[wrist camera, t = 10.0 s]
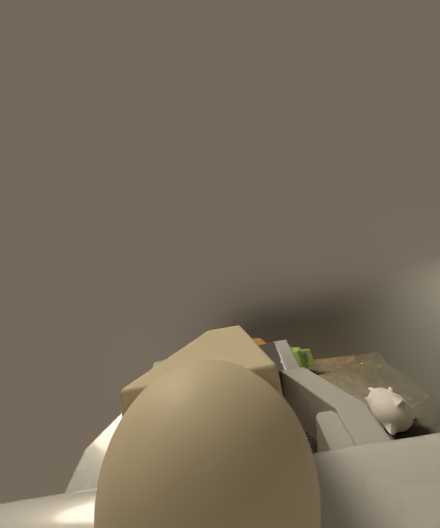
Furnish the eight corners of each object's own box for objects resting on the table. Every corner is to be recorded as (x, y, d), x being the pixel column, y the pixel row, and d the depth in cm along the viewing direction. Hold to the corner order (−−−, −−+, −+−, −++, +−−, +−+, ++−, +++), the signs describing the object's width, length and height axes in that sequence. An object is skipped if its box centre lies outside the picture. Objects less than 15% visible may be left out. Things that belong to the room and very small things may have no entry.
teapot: (318, 382, 90) (309, 347, 93) (267, 386, 97) (261, 353, 99) (316, 370, 107) (309, 340, 110) (273, 373, 114) (268, 345, 116)
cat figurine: (367, 374, 62) (384, 388, 51) (414, 396, 58) (443, 415, 47) (356, 406, 61) (370, 427, 50) (403, 430, 57) (430, 458, 46)
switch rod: (436, 824, 2) (324, 365, 2) (14, 889, 2) (22, 417, 2) (249, 362, 17) (242, 322, 17) (210, 368, 17) (204, 328, 17)
